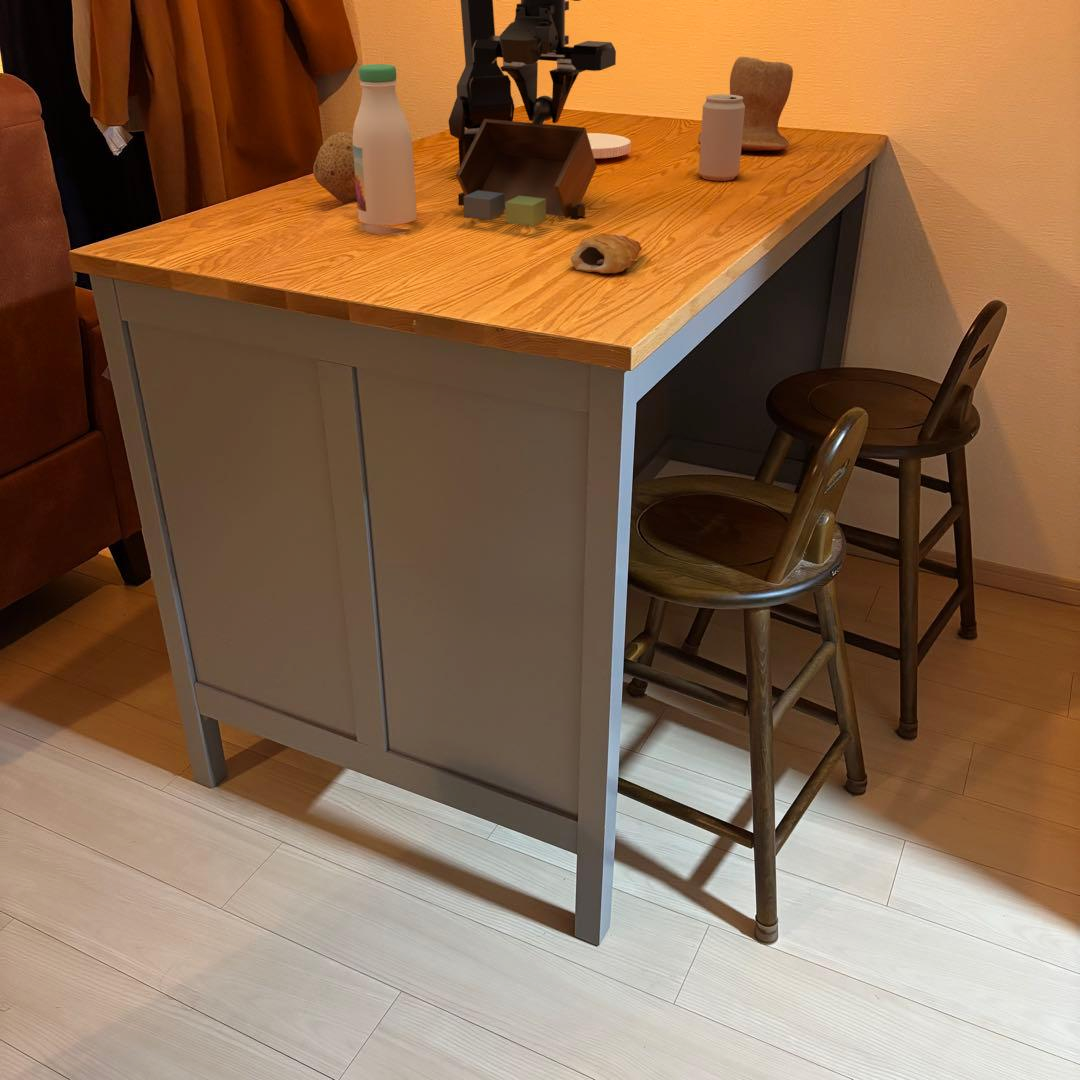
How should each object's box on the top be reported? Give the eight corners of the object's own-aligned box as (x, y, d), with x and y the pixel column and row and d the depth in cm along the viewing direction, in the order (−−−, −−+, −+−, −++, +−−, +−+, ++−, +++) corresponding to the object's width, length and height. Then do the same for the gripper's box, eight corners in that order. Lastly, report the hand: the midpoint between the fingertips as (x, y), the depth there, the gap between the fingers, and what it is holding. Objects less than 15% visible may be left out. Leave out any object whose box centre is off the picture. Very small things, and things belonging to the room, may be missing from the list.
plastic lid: (646, 158, 182) (647, 142, 181) (580, 168, 175) (580, 152, 174) (597, 145, 192) (597, 130, 191) (532, 153, 185) (532, 138, 184)
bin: (472, 212, 150) (453, 170, 143) (512, 130, 155) (496, 86, 148) (571, 225, 144) (556, 182, 137) (609, 139, 149) (597, 94, 142)
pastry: (608, 251, 134) (609, 220, 132) (655, 260, 131) (657, 228, 129) (566, 269, 127) (567, 237, 125) (614, 279, 124) (616, 246, 122)
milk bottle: (426, 223, 145) (418, 63, 135) (402, 237, 139) (391, 71, 129) (375, 218, 148) (363, 60, 137) (349, 232, 141) (334, 68, 131)
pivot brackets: (455, 214, 150) (454, 193, 148) (463, 210, 151) (462, 190, 150) (581, 230, 142) (582, 209, 141) (588, 226, 144) (589, 205, 143)
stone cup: (791, 145, 192) (801, 54, 185) (784, 158, 183) (795, 62, 175) (707, 140, 196) (714, 50, 188) (696, 152, 186) (703, 58, 179)
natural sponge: (305, 209, 152) (296, 135, 147) (336, 195, 159) (329, 124, 154) (362, 215, 149) (355, 139, 144) (391, 200, 156) (386, 128, 151)
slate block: (478, 220, 147) (464, 226, 144) (477, 190, 145) (463, 196, 142) (504, 223, 145) (490, 230, 142) (504, 193, 143) (489, 199, 140)
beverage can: (737, 182, 166) (745, 100, 160) (696, 180, 168) (702, 98, 161) (739, 174, 172) (746, 93, 166) (699, 172, 173) (705, 92, 167)
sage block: (519, 225, 144) (505, 232, 141) (519, 195, 142) (505, 201, 139) (546, 229, 143) (532, 236, 140) (546, 198, 141) (532, 205, 138)
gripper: (448, -3, 135) (455, 127, 144) (584, 3, 129) (582, 139, 137) (490, -11, 144) (493, 112, 152) (619, -6, 137) (615, 122, 145)
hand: (543, 121), depth 146 cm, fingers closed on bin, 3 cm apart
